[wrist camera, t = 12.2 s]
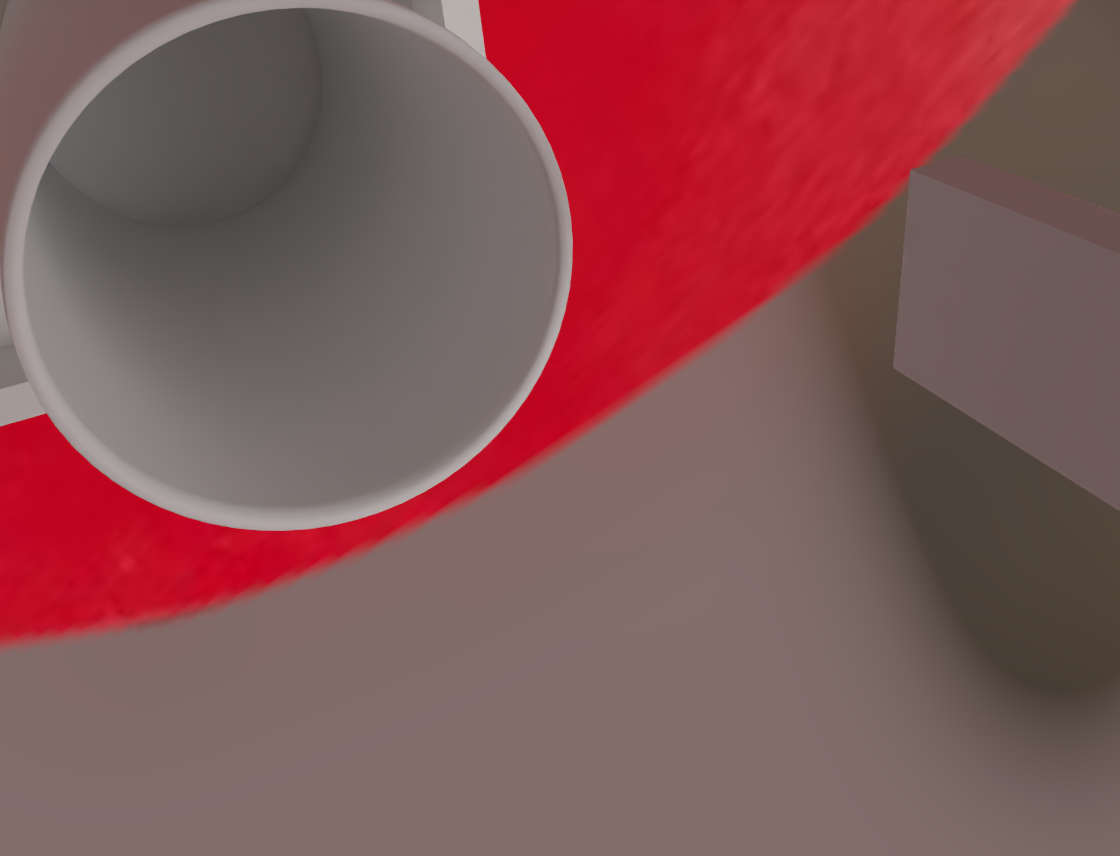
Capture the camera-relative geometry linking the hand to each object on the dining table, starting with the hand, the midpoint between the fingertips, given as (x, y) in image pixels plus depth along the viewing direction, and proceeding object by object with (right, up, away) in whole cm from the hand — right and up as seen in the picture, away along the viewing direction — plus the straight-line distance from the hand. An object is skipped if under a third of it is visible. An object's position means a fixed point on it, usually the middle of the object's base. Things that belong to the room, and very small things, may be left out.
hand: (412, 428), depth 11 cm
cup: (-9, +9, +17) cm, 21 cm away
